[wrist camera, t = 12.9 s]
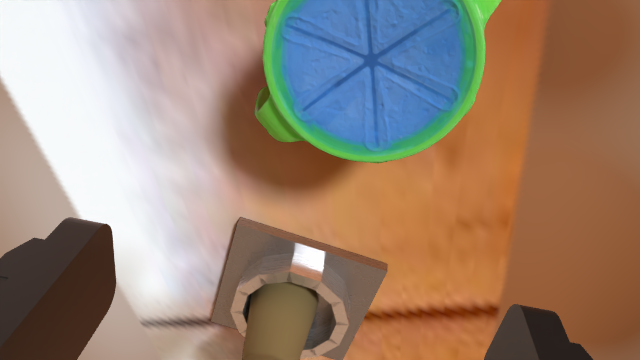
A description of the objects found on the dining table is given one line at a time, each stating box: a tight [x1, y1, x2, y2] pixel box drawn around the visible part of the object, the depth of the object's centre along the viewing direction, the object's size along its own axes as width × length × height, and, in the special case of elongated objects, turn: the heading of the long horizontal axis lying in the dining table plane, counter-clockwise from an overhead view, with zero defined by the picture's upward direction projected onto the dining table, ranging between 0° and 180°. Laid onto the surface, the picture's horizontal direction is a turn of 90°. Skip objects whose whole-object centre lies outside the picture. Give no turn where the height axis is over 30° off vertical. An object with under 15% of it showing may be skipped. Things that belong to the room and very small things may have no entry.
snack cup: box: [254, 0, 501, 163], centre depth 27 cm, size 16×10×10 cm
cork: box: [242, 282, 319, 360], centre depth 39 cm, size 6×6×11 cm
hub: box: [211, 217, 387, 360], centre depth 43 cm, size 13×12×3 cm
